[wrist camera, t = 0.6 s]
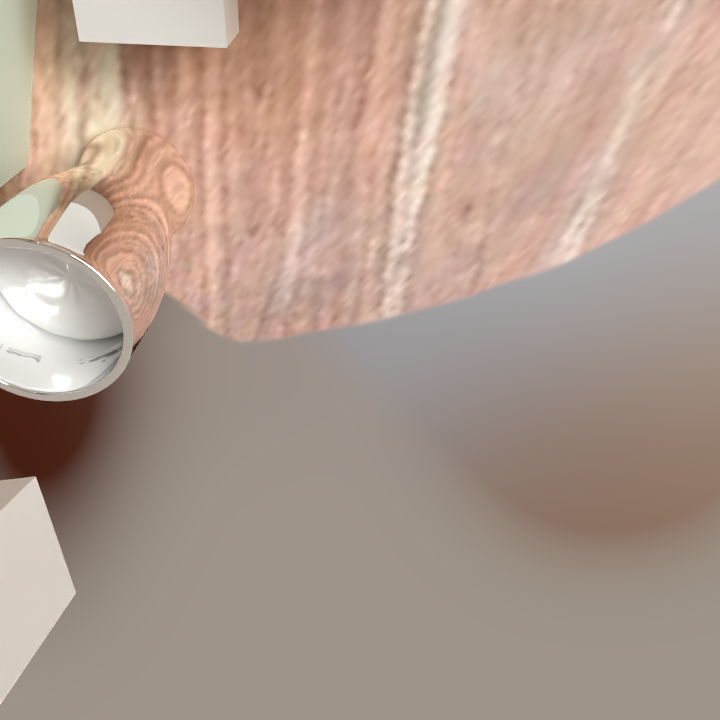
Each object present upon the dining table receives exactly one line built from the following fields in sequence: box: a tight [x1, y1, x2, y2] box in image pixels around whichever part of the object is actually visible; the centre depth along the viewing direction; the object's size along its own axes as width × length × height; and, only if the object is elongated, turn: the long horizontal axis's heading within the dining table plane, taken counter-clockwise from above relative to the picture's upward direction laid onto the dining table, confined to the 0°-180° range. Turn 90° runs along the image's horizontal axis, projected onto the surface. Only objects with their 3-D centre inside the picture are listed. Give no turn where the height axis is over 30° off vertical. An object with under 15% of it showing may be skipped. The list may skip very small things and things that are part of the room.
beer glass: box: [0, 128, 195, 401], centre depth 29 cm, size 7×7×15 cm
